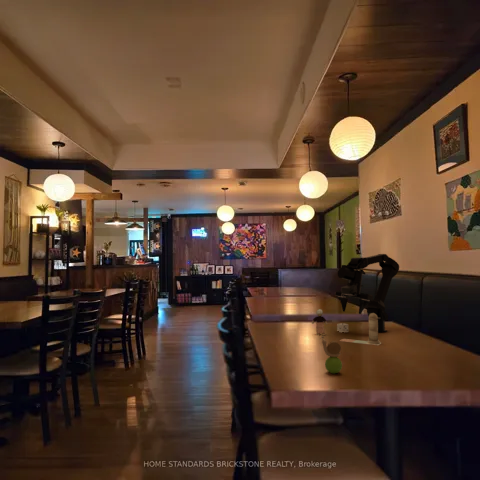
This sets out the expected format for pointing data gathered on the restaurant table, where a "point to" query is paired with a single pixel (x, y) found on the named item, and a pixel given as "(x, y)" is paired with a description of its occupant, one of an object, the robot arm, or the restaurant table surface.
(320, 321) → the grandmother figurine
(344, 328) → the die
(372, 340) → the pawn
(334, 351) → the snail figurine
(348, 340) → the board
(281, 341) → the restaurant table surface
